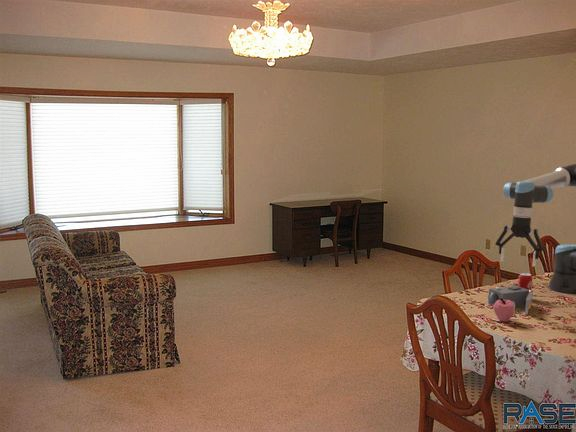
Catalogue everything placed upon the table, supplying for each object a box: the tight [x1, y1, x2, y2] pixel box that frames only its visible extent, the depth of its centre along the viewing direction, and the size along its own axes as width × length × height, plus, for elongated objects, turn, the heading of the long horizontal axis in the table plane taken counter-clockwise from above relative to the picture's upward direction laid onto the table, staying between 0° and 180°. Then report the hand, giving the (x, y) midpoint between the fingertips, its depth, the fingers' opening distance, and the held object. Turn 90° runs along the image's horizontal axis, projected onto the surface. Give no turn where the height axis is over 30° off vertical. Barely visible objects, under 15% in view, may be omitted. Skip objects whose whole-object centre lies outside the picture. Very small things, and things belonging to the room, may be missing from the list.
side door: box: [524, 289, 534, 315], centre depth 277 cm, size 16×2×7 cm, turn 153°
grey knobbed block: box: [487, 285, 529, 308], centre depth 285 cm, size 18×9×8 cm, turn 113°
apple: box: [493, 298, 516, 323], centre depth 261 cm, size 10×9×10 cm
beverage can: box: [517, 272, 533, 290], centre depth 296 cm, size 6×6×12 cm
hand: (517, 263), depth 275 cm, fingers open, 13 cm apart
